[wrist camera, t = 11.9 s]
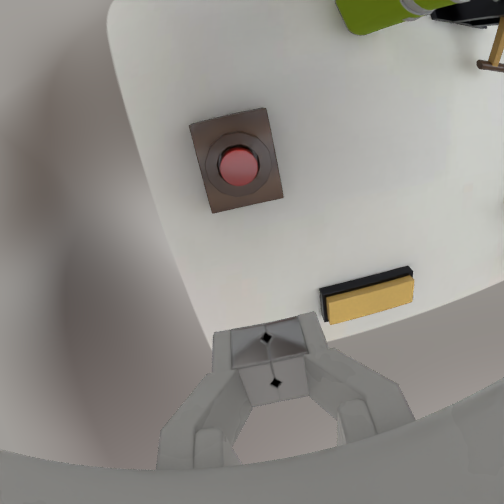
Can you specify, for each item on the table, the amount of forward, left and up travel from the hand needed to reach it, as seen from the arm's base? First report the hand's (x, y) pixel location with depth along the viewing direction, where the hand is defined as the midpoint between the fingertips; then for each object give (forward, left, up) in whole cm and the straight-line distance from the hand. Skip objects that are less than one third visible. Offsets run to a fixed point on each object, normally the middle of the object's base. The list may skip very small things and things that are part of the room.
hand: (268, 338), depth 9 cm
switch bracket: (-17, +33, -28) cm, 47 cm away
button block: (0, 0, -28) cm, 28 cm away
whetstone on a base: (+22, +14, -28) cm, 38 cm away
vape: (-15, +17, -28) cm, 36 cm away
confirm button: (0, 0, -24) cm, 24 cm away
